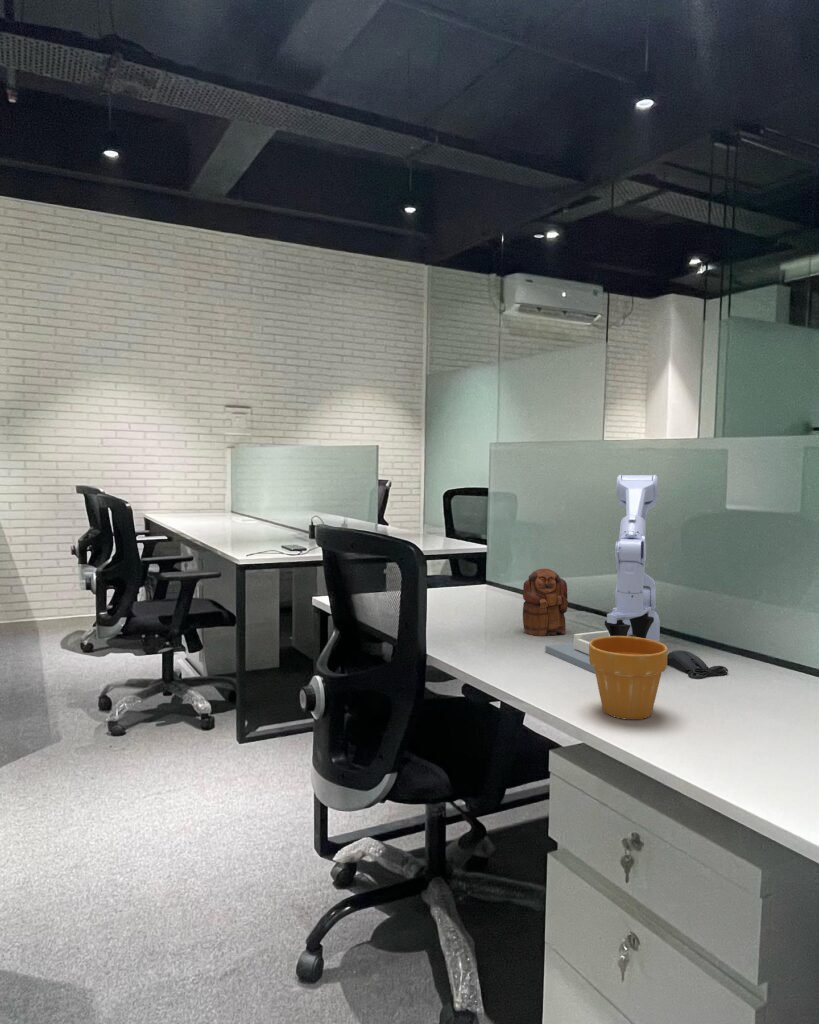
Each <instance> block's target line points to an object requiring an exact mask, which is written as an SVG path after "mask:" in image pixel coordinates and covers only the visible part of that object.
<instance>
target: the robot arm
mask: <svg viewBox="0 0 819 1024" xmlns="http://www.w3.org/2000/svg"><path fill="white" fill-rule="evenodd" d="M658 489H659V477H658V475H657V474H653V475H652V474H651V475H650V474H642V475H641V474H628V475H627V474H618V475H617V477H616V489H615V490H616V497H617V503H618V504H619V507H621V508H624V509H625V510H626V511H625V513H626V515H625V516H623V517H622V518H621V520H620V524H619V532H618V534H619V535H618V540H616V542H615V548H614V549H615V550H614V556H615V557H614V558H615V565H616V567H615V569H616V570H615V571H616V572H617V575H616V577H617V578H616V586H615V596H614V597H615V598H614V600H615V607H613V608H612V612H611V611H610V612H609V613H606V620H604V627H605V628H606V629H607V630H608V632H609V634H610V636H627V634H633V635H636V637H639V638H645V639H650V640H654V641H657V642H660V635H661V634H660V633H661V632H660V631H661V628H660V627H661V625H660V624H661V621H660V616H659V614H658V613H657V612H656V611H655V610H656V607H657V606H656V603H657V602H656V601H657V587H656V581H655V579H654V578H653V577H652V576H650V575H648V574H647V573H646V571H645V570H646V559H647V543H646V539H647V538H646V533H647V515H648V514H649V510H651V509H653V508H656V507H657V504H658V491H659V490H658Z"/></svg>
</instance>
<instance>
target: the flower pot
mask: <svg viewBox="0 0 819 1024" xmlns="http://www.w3.org/2000/svg"><path fill="white" fill-rule="evenodd" d="M668 651H669V649H668V647H667V646H666V644H665V643H663V642H661V641H659V642H657V641H654V640H650V639H645V638H639V637H630V636H607V637H600V638H596V639H593V640H592V641H590V643H589V661H590V664H591V665H592V666H593V667H594V669H595V673H596V674H595V673H594V674H595V677H596V682H597V683H596V685H597V687H598V693H599V698H600V702H601V703H600V704H601V707H602V710H603V712H604V713H605V714H606V713H607V714H606V715H608V714H609V715H608V716H610V715H612V716H615V717H619V718H625V719H624V720H626V719H632V720H634V719H640V720H644V719H643V718H645V719H647V717H648V718H649V717H650V716H652V714H653V710H654V705H655V703H656V702H655V701H656V697H657V693H658V689H659V686H660V681H661V676H662V673H663V672H664V671H666V670H667V667H668V665H667V655H668V654H669V652H668ZM612 716H611V717H612ZM615 717H614V718H615ZM619 718H618V719H619Z"/></svg>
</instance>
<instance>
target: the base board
mask: <svg viewBox="0 0 819 1024" xmlns="http://www.w3.org/2000/svg"><path fill="white" fill-rule="evenodd" d="M544 652H545V653H547V654H549V655H552V656H553V657H556V658H558V659H560V660H563V661H565V662H567V663H569V664H573V665H575V666H577V667H579V668H581V669H584V670H587V671H589V672H590V673H593V674H594V675H596V673H595V669H594V667H593V666H592V665H591V664H590V661H589V654H586V653H584V652H581V651H579V650H576V649H574V641H573V642H565V643H556V644H550V645H549V644H547V645H545V647H544Z"/></svg>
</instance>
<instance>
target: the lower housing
mask: <svg viewBox="0 0 819 1024" xmlns="http://www.w3.org/2000/svg"><path fill="white" fill-rule="evenodd" d="M607 636H610V634H609V632H608V630H597V631H591V632H583V633H573V642H574V649H576V650H579V651H581V652H584V653H586V654H589V643H590V641H592V640H593V639H596V638H600V637H607Z"/></svg>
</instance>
